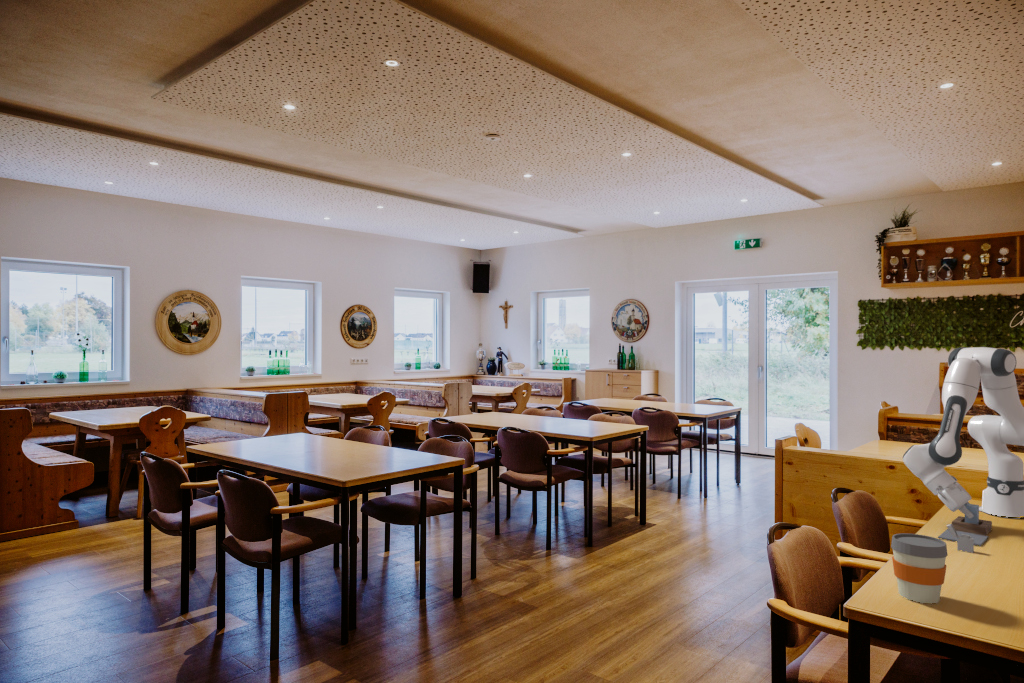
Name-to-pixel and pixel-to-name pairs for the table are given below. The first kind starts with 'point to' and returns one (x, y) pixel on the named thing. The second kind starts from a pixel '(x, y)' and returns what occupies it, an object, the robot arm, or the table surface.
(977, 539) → the rubber mat
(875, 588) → the table surface
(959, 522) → the pocket holder
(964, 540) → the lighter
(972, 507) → the peg
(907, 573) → the reusable coffee cup
